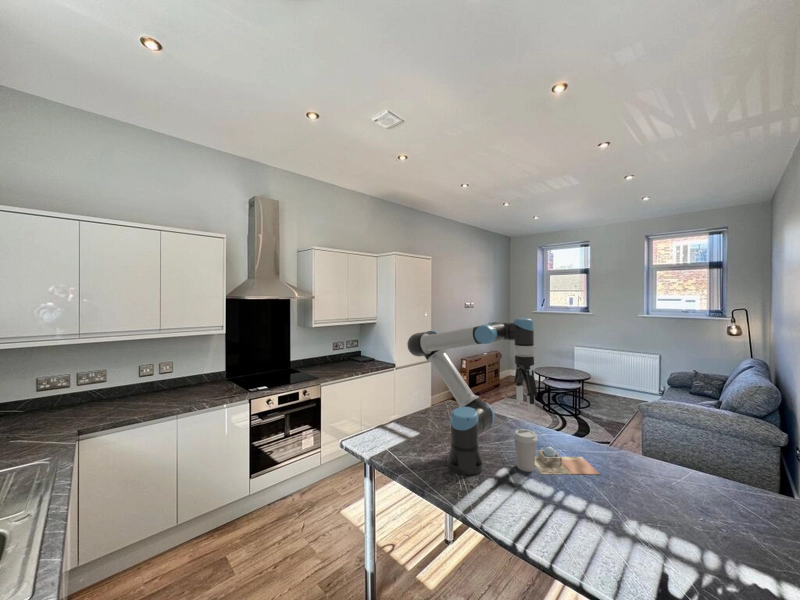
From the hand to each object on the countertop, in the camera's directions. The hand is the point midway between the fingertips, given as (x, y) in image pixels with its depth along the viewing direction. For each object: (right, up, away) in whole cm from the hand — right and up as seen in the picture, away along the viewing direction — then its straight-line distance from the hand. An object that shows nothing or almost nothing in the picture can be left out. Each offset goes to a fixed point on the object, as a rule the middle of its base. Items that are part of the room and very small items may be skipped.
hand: (525, 406), depth 131 cm
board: (+16, -26, +1) cm, 31 cm away
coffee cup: (0, -27, 0) cm, 27 cm away
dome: (+12, -24, +4) cm, 28 cm away
